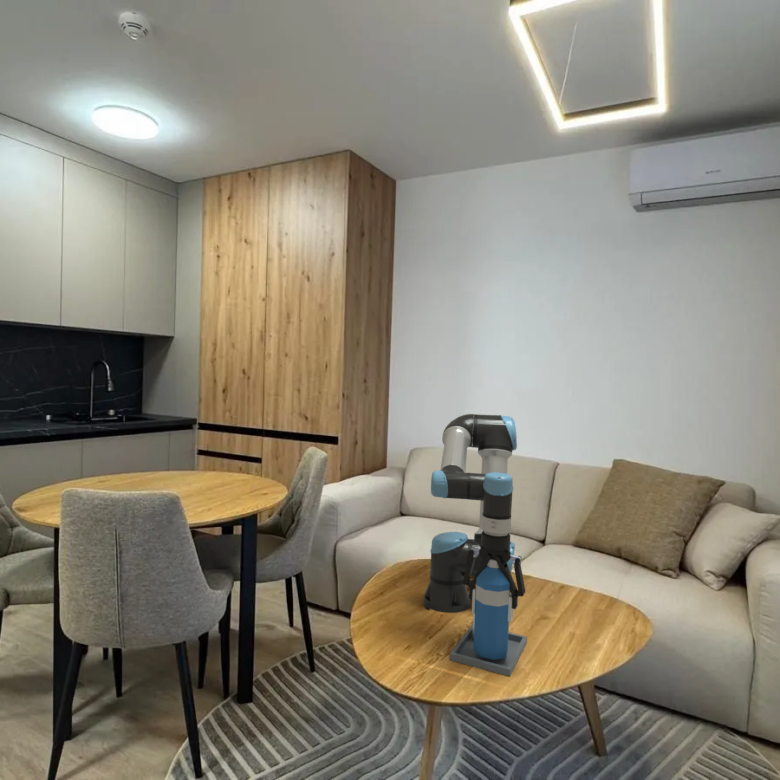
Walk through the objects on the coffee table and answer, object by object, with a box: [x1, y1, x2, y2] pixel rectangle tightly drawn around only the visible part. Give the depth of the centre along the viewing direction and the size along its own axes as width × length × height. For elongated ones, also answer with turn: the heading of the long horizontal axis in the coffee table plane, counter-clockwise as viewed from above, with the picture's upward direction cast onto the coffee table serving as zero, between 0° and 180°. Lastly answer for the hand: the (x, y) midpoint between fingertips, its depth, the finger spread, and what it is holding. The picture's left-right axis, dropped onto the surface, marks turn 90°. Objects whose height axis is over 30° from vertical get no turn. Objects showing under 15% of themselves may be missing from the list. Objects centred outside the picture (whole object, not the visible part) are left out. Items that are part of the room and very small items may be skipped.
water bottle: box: [473, 559, 511, 660], centre depth 148 cm, size 9×9×25 cm
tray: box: [449, 623, 528, 677], centre depth 152 cm, size 16×20×2 cm
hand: (492, 615), depth 148 cm, fingers closed on water bottle, 9 cm apart
